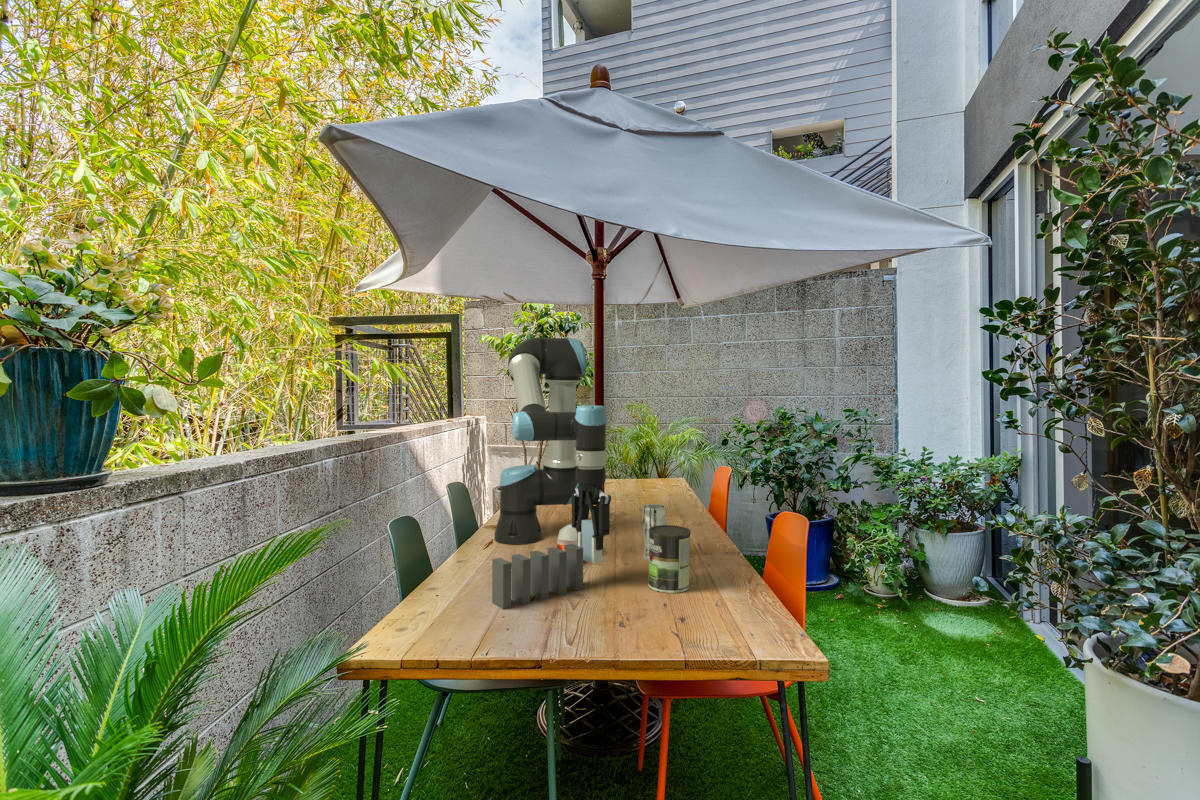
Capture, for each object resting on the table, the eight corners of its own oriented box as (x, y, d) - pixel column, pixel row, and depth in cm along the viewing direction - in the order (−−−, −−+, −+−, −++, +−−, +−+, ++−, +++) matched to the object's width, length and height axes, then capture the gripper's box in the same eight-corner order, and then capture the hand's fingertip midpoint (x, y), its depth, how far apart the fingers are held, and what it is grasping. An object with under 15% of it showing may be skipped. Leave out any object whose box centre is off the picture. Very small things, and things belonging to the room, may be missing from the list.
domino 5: (576, 590, 143) (576, 549, 143) (564, 585, 147) (564, 544, 147) (582, 588, 144) (583, 548, 144) (570, 583, 148) (571, 543, 148)
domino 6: (587, 557, 151) (587, 518, 151) (600, 562, 147) (600, 522, 147) (581, 559, 150) (581, 519, 150) (593, 563, 146) (593, 523, 146)
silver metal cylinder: (665, 554, 174) (666, 504, 174) (665, 561, 167) (666, 508, 167) (641, 554, 175) (642, 503, 174) (641, 560, 168) (641, 508, 167)
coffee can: (659, 595, 140) (659, 536, 140) (641, 582, 150) (641, 526, 149) (697, 590, 143) (698, 533, 143) (677, 577, 153) (678, 523, 153)
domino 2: (522, 604, 134) (522, 560, 133) (511, 598, 138) (511, 555, 137) (530, 602, 135) (530, 558, 135) (518, 596, 139) (519, 553, 139)
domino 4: (559, 595, 140) (559, 552, 140) (547, 589, 144) (547, 548, 144) (566, 593, 141) (566, 551, 141) (554, 587, 145) (554, 546, 145)
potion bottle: (581, 555, 178) (570, 576, 163) (555, 535, 178) (541, 555, 164) (598, 532, 176) (588, 551, 161) (572, 512, 176) (560, 530, 162)
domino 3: (541, 599, 137) (541, 556, 137) (529, 593, 141) (530, 551, 140) (548, 597, 138) (548, 555, 138) (536, 591, 142) (537, 550, 142)
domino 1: (503, 609, 130) (503, 564, 130) (492, 602, 134) (492, 559, 134) (511, 607, 132) (511, 562, 132) (499, 601, 136) (500, 557, 135)
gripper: (557, 464, 153) (557, 554, 153) (601, 472, 139) (600, 571, 139) (580, 462, 157) (580, 549, 158) (625, 469, 143) (624, 565, 144)
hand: (589, 559), depth 148 cm, fingers closed on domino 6, 5 cm apart
